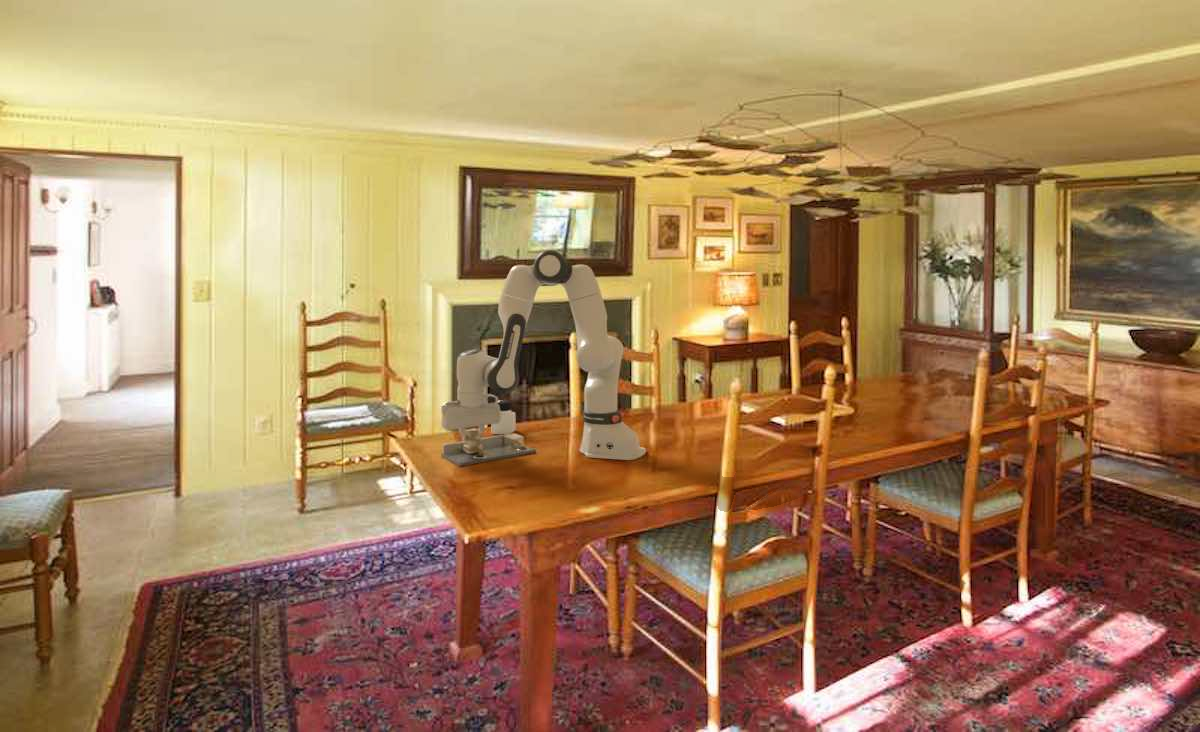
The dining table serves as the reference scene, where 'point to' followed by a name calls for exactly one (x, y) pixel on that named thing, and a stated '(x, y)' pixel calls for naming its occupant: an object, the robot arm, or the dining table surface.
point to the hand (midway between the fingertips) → (472, 439)
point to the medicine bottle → (505, 419)
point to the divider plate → (487, 449)
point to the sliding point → (473, 442)
